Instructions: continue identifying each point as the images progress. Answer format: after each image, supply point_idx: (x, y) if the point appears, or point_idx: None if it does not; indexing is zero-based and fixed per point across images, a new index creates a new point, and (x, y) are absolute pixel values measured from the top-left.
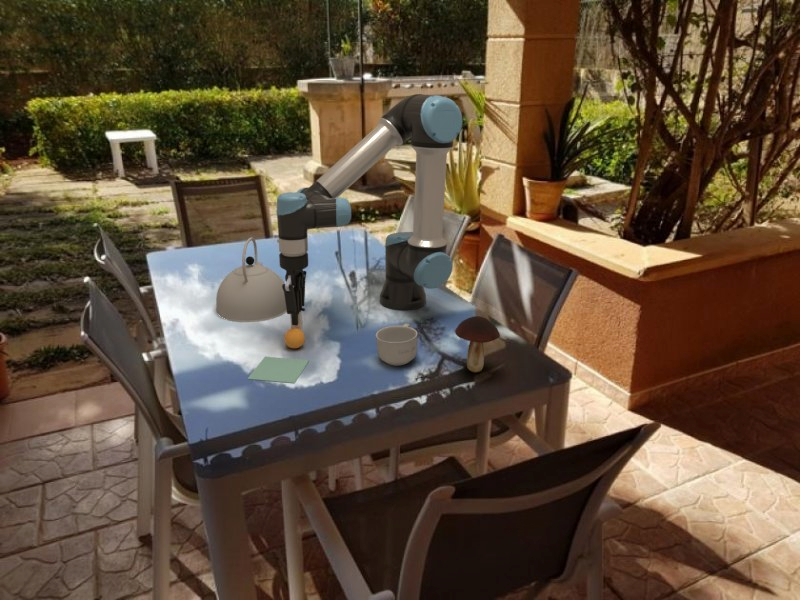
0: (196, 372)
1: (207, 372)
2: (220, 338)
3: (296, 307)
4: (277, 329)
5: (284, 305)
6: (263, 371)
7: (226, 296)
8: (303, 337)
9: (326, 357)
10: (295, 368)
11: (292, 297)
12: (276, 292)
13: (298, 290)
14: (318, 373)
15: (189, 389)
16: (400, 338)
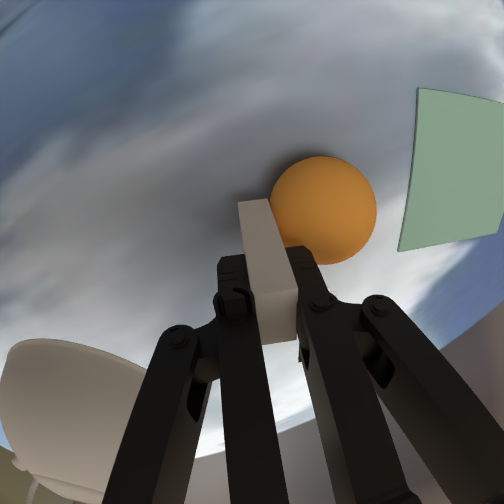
0: (446, 329)
1: (451, 316)
2: (287, 384)
3: (393, 343)
4: (170, 315)
5: (49, 361)
6: (477, 212)
7: None
8: (334, 165)
9: (374, 19)
10: (470, 124)
11: (493, 426)
12: (61, 418)
13: (418, 501)
14: (481, 41)
15: (496, 301)
16: None
